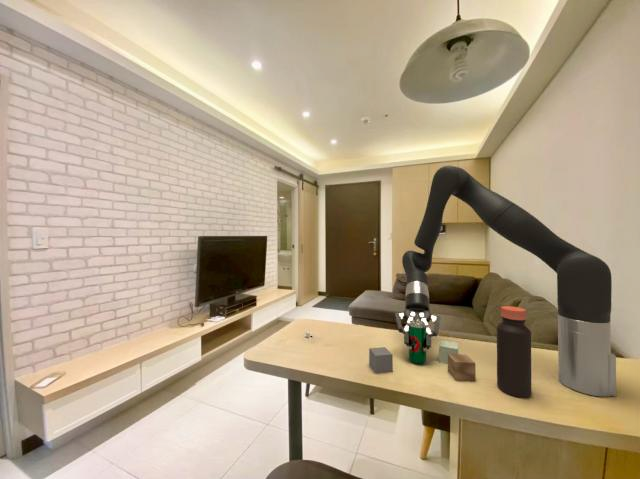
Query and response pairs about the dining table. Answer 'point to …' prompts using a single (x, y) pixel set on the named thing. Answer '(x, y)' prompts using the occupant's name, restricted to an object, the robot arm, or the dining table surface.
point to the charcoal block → (381, 360)
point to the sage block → (447, 350)
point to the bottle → (514, 353)
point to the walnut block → (461, 367)
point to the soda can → (417, 342)
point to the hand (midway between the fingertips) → (417, 346)
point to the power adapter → (308, 333)
